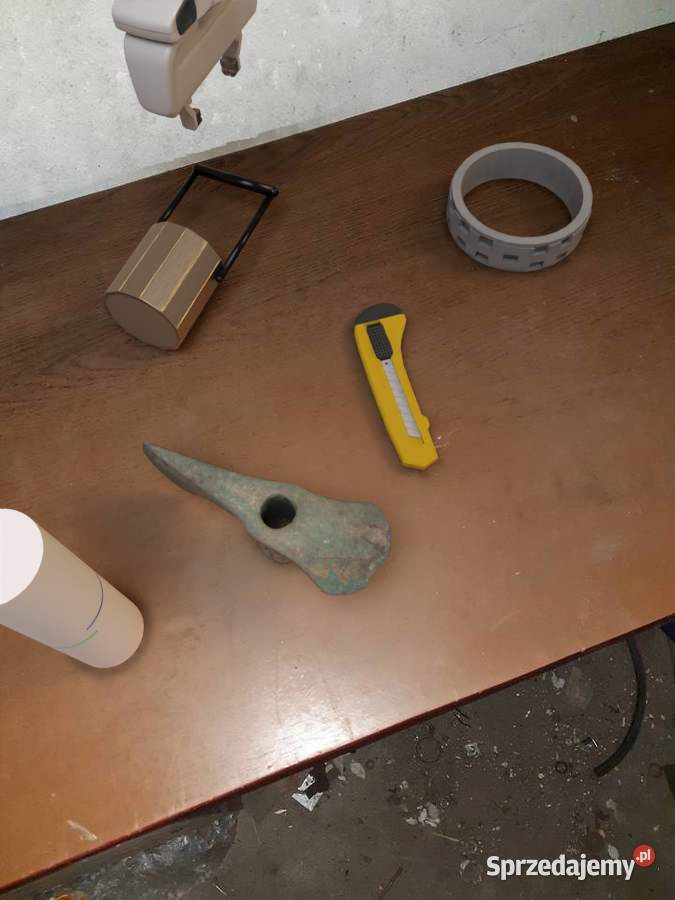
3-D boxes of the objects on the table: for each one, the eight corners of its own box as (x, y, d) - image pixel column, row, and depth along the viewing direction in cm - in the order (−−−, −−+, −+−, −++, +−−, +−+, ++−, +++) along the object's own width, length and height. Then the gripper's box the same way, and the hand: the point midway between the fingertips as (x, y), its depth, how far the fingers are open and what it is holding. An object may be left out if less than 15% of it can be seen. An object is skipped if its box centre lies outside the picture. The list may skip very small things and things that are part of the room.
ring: (420, 199, 94) (423, 170, 90) (532, 154, 98) (540, 123, 93) (493, 293, 87) (500, 266, 83) (610, 240, 90) (624, 212, 86)
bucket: (197, 362, 84) (178, 311, 75) (109, 331, 86) (81, 278, 77) (284, 218, 94) (276, 158, 85) (203, 193, 96) (187, 132, 87)
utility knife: (397, 305, 87) (398, 295, 85) (460, 461, 77) (462, 454, 75) (345, 318, 86) (344, 308, 84) (401, 477, 76) (402, 470, 75)
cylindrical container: (157, 616, 70) (64, 535, 48) (116, 681, 68) (-3, 628, 45) (100, 584, 72) (-16, 492, 49) (58, 647, 69) (-85, 579, 47)
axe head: (137, 519, 75) (107, 483, 66) (184, 447, 79) (162, 404, 70) (361, 632, 69) (361, 609, 60) (401, 549, 73) (407, 516, 64)
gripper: (206, -96, 70) (229, 37, 83) (100, 23, 62) (143, 150, 75) (262, -84, 69) (277, 49, 81) (161, 38, 61) (195, 165, 73)
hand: (212, 98), depth 78 cm, fingers open, 8 cm apart
